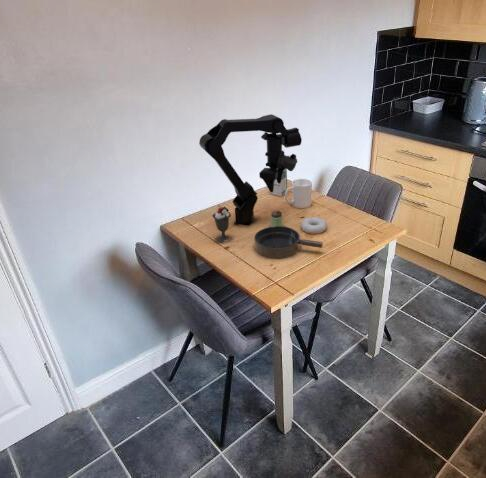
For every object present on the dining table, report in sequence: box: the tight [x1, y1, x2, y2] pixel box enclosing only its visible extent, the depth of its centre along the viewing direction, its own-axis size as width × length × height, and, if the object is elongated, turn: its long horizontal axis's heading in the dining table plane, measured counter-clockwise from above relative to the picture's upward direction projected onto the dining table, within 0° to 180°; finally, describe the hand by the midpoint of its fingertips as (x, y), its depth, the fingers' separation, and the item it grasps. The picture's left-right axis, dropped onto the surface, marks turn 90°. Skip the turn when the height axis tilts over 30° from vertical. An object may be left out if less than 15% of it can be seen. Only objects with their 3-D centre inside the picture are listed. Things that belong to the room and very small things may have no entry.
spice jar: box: [270, 210, 284, 227], centre depth 165 cm, size 5×5×7 cm
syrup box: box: [268, 166, 288, 197], centre depth 192 cm, size 6×6×14 cm
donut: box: [300, 216, 328, 235], centre depth 165 cm, size 10×4×10 cm
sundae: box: [211, 204, 232, 244], centre depth 156 cm, size 7×7×15 cm
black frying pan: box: [253, 225, 301, 260], centre depth 153 cm, size 16×16×4 cm
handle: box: [298, 239, 324, 249], centre depth 149 cm, size 8×2×2 cm, turn 72°
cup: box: [284, 178, 313, 209], centre depth 182 cm, size 8×12×10 cm
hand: (275, 187), depth 171 cm, fingers open, 9 cm apart
